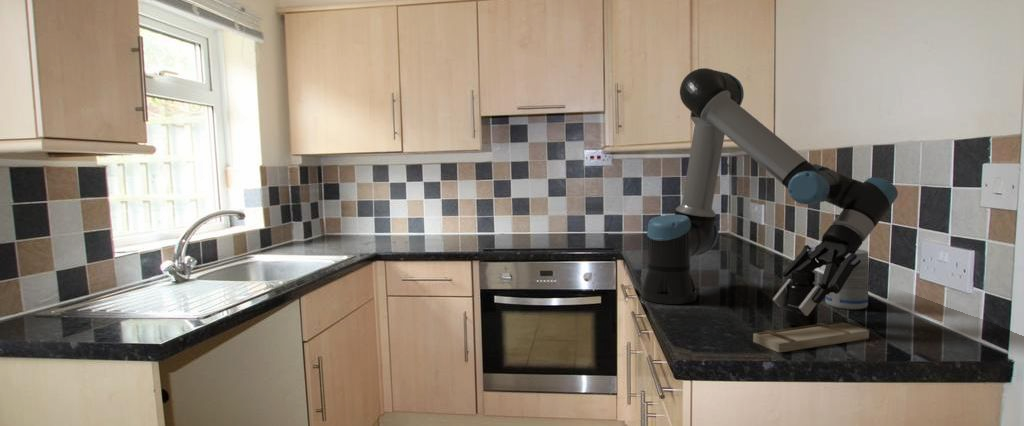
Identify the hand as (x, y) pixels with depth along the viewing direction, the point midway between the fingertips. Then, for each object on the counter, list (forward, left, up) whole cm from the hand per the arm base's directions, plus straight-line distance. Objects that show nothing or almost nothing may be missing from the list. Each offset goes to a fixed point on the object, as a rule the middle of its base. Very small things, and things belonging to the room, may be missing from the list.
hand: (789, 307), depth 119 cm
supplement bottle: (0, +4, -4) cm, 6 cm away
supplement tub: (-10, +29, -5) cm, 31 cm away
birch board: (+8, -2, -5) cm, 10 cm away
